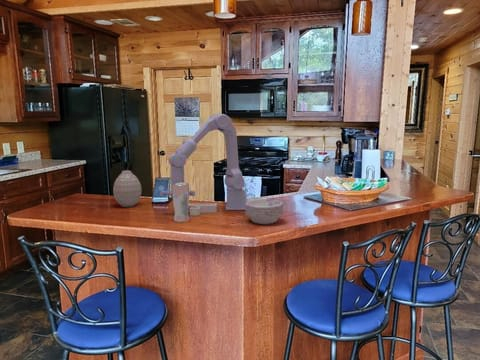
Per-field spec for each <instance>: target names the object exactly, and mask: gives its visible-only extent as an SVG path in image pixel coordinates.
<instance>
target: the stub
mask: <svg viewBox="0 0 480 360" xmlns="http://www.w3.org/2000/svg"><path fill="white" fill-rule="evenodd" d="M200 215H201V213H200V206H191V208H190V213H189V216H198V217H199V216H200Z"/></svg>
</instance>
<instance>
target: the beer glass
mask: <svg viewBox="0 0 480 360" xmlns="http://www.w3.org/2000/svg"><path fill="white" fill-rule="evenodd" d="M189 191H190V184H189V183H188V182H184V183H173V184H172V199H173V201H172V203H173V209H174V216H173V221H174V222H177V223H183V222H188V221H189V220H190V218H189V213H188V205H189V203H190V197H191V196H190V192H189ZM172 199H171V200H172Z"/></svg>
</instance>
